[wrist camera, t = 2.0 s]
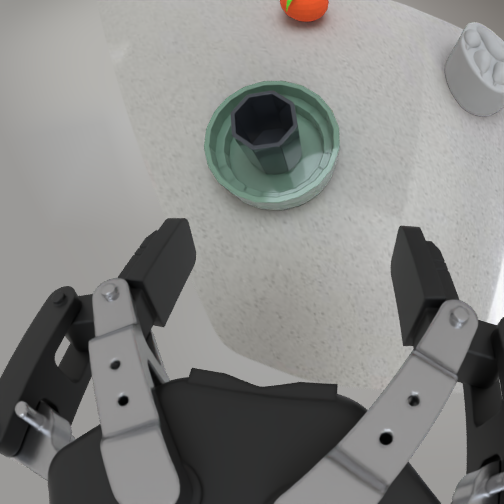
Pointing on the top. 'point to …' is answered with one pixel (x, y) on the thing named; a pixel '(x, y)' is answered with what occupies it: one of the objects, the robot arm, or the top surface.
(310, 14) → the clementine
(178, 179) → the top surface
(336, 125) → the bowl
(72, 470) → the robot arm
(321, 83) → the top surface
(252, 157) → the cup
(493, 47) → the lumpy-topped squat cylinder
